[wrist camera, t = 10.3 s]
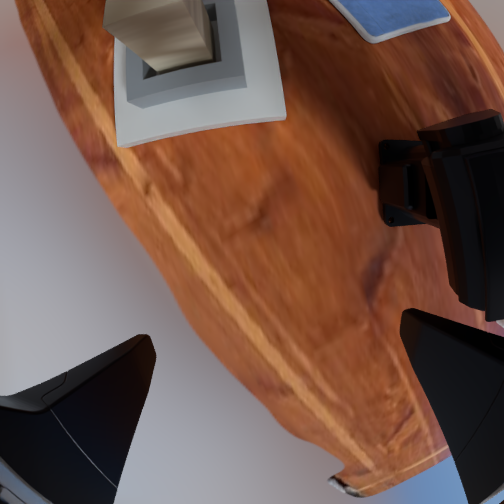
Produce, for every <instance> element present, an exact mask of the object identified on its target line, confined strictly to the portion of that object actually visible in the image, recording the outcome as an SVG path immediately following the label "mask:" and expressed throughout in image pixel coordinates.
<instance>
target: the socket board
mask: <svg viewBox="0 0 504 504" xmlns="http://www.w3.org/2000/svg"><path fill="white" fill-rule="evenodd" d="M202 1H203V4H204V6H205V9H206V11H207V14H208V17H209V19H210V22H211V24H212V27H213V29H214V39H215V49H216V59H217V62H215V63H210V64H204V65H199V66H195V67H190V68H185V69H181V70H177V71H173V72H169V73H165V74H162V75H160V74H159V73H158V72H157V71H156V70H155V69H153V68H152V67H151V66H150V65H149V64H147V63H146V62H145V61H144V60H143V59H142V58H140V57H139V56H138V55H137V54H136V53H134V52H133V51H132V50H131V49H129V48H128V47H127V46H126V45H124V44H123V43H122V42H121V41H119V40H118V39H117V38H116V37H115V46H114V102H115V122H116V136H117V147H125V148H128V147H131V146H135V145H139V144H143V143H147V142H151V141H155V140H159V139H163V138H168V137H172V136H177V135H182V134H187V133H192V132H197V131H203V130H209V129H215V128H221V127H228V126H235V125H242V124H250V123H259V122H269V121H280V120H285V119H286V116H287V115H286V108H285V101H284V95H283V88H282V82H281V75H280V69H279V63H278V57H277V52H276V46H275V41H274V35H273V30H272V25H271V20H270V15H269V10H268V5H267V0H202Z"/></svg>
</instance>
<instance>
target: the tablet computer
mask: <svg viewBox="0 0 504 504" xmlns="http://www.w3.org/2000/svg"><path fill="white" fill-rule="evenodd" d="M329 1H330V2H331V3H332V4H333V5H334V6H335V7H336V8H337V9H338V10H339V11H340V12H341V13H342V14H343V16H344V17H345V18H346V19H347V20H348V21H349V22H350V23H351V24H352V26H353V27H354V28H355V29H356V30H357V32H358V33H359V34H360V35H361V37H362V38H363V39H365V40H366V41H367V42H369V43H379V42H381V41H384V40H387V39H390V38H393V37H396V36H399V35H402V34H406V33H409V32H412V31H416V30H419V29H422V28H426V27H429V26H433V25H437V24H441V23H445V22H448V21H449V20H450V18H451V17H450V14H449V12H448V11H447V9H446V8H445V7H444V6H443V5H442V3H441V2H440V1H439V0H329Z"/></svg>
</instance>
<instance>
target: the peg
mask: <svg viewBox="0 0 504 504" xmlns="http://www.w3.org/2000/svg"><path fill="white" fill-rule="evenodd" d="M103 28H104V29H105V30H107V31H108V32H109V33H111V34H112V35H113V36H114V37H116V38H117V39H118V40H119V41H121V42H122V43H123V44H124V45H126V46H127V47H128V48H129V49H131V50H132V51H133V52H134V53H136V54H137V55H138V56H139V57H140V58H142V59H143V60H144V61H145V62H146V63H147V64H149V65H150V66H151V67H152V68H153V69H155V70H156V71H157V72H158V73H159V74H160V75H162V74H165V73H169V72H173V71H177V70H181V69H185V68H190V67H195V66H199V65H204V64H210V63H215V62H217V59H216V49H215V39H214V29H213V27H212V24H211V22H210V19H209V17H208V14H207V11H206V9H205V6H204V4H203V1H202V0H106V4H105V11H104V19H103Z"/></svg>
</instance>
